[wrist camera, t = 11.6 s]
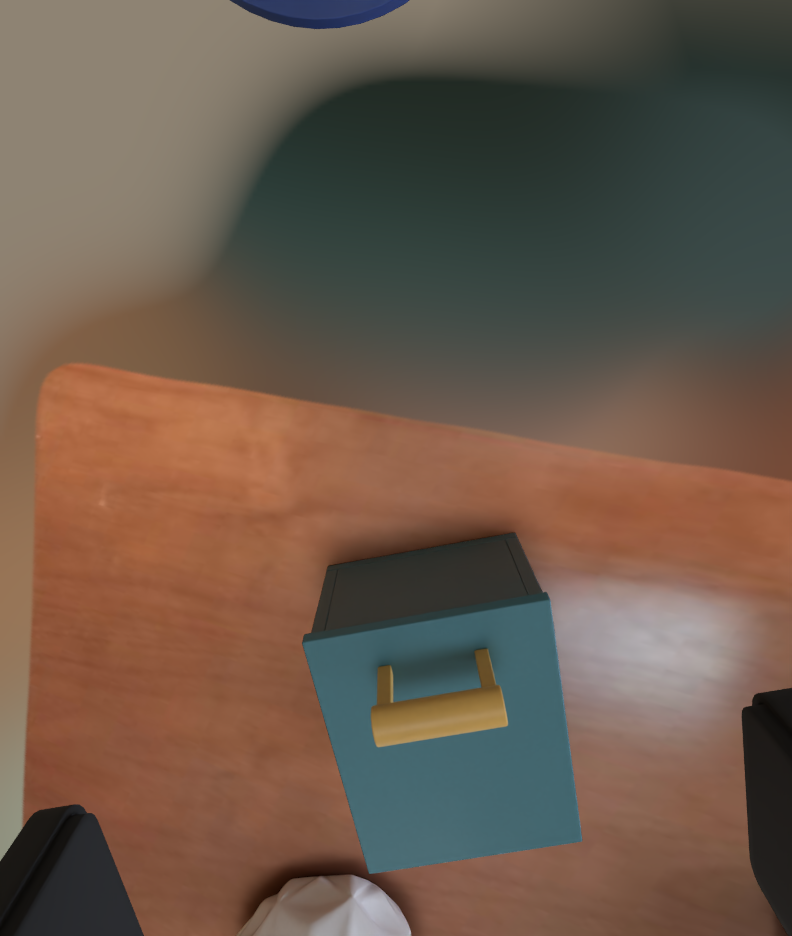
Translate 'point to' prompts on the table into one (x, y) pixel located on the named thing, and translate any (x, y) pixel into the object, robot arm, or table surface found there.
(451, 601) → the chest
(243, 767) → the table surface
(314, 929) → the vase
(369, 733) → the lid
